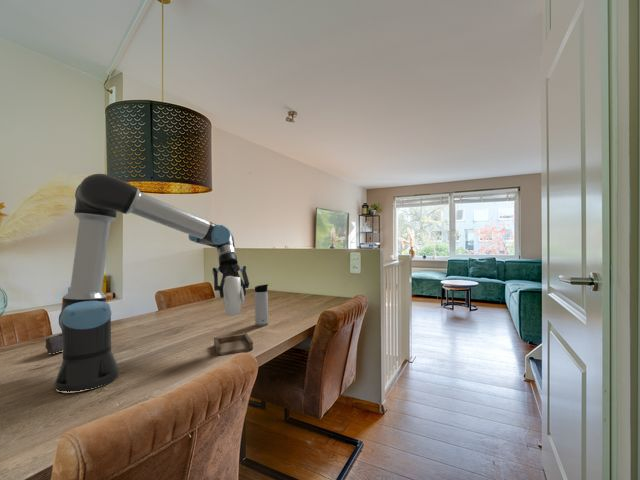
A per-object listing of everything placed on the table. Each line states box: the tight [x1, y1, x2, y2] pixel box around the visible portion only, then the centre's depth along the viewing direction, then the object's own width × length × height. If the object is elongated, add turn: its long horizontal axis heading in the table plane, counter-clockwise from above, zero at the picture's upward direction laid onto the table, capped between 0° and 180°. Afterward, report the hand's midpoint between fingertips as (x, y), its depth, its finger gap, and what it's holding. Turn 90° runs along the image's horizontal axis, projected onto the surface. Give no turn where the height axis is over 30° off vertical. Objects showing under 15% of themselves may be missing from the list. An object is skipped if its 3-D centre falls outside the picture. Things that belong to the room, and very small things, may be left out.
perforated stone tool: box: [45, 333, 63, 354], centre depth 117 cm, size 15×5×7 cm, turn 173°
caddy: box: [213, 333, 254, 357], centre depth 117 cm, size 13×12×3 cm
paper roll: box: [224, 276, 242, 316], centre depth 118 cm, size 6×6×14 cm
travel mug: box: [254, 284, 269, 327], centre depth 148 cm, size 6×7×20 cm
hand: (234, 302), depth 114 cm, fingers closed on paper roll, 6 cm apart
